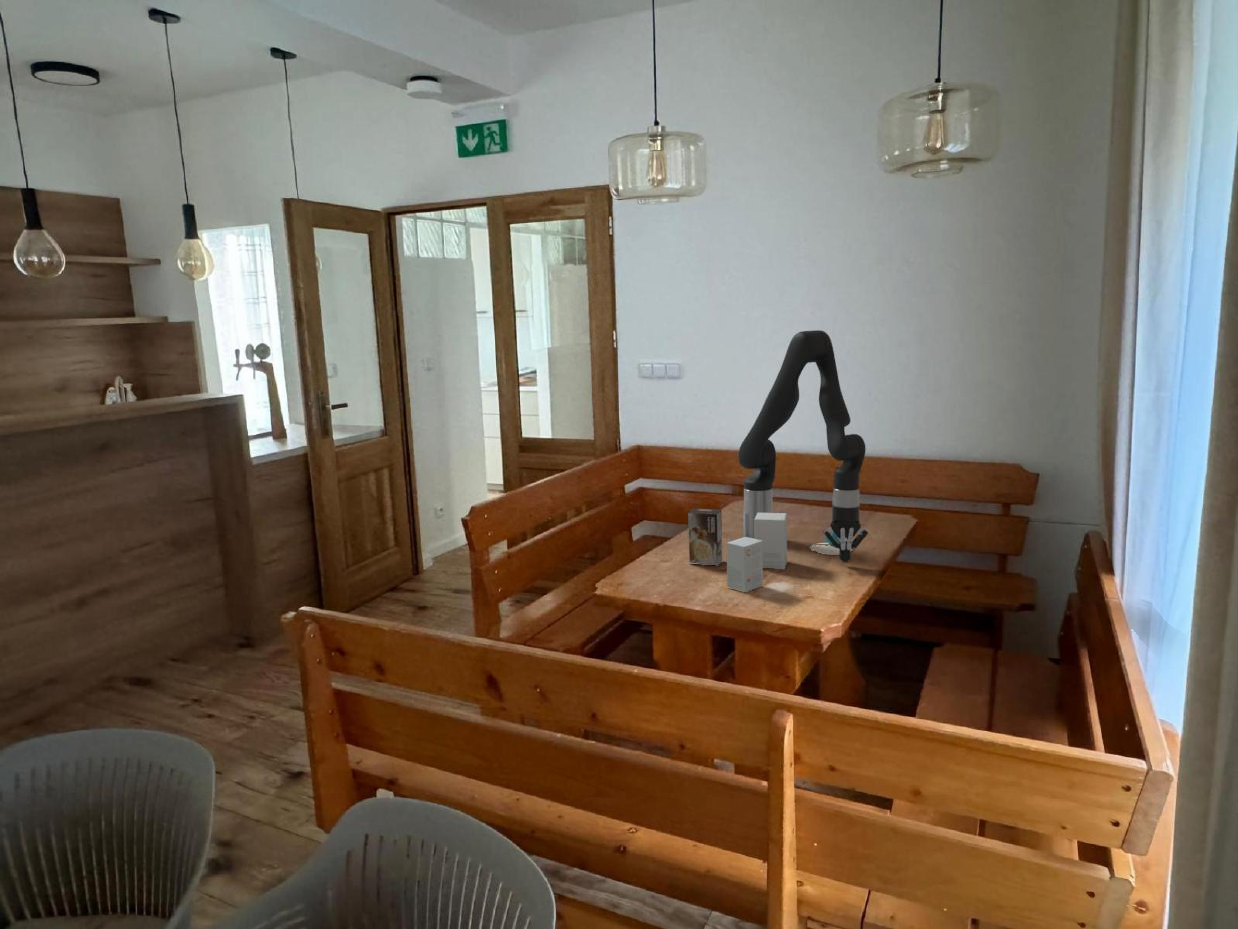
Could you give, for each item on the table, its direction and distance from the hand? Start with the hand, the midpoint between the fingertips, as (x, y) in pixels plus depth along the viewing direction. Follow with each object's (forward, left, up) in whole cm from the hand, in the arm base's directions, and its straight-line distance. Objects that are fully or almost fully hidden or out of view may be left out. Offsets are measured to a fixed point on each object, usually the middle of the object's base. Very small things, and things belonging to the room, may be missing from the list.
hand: (844, 561), depth 238 cm
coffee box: (-40, +6, -2) cm, 40 cm away
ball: (+2, +23, +1) cm, 23 cm away
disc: (0, +18, -2) cm, 18 cm away
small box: (-31, -17, -2) cm, 35 cm away
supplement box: (-21, +3, -2) cm, 21 cm away
